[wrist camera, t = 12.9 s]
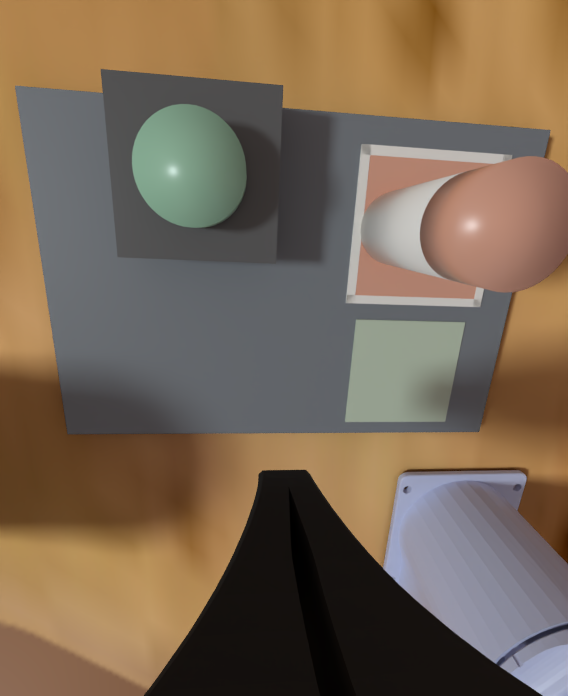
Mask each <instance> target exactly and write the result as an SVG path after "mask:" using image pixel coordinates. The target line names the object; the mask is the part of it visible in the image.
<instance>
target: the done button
mask: <svg viewBox="0 0 568 696" xmlns="http://www.w3.org/2000/svg"><path fill="white" fill-rule="evenodd" d="M132 169H133V175H134V179H135V182H136V185H137V187H138V190H139V191H140V193H141V195H142V197H143V198H144V200H145V201H146V203H147V204H148V205H149V206H150V207H151V209H152V210H154V211H155V212H156V213H157V214H158V215H159V216H161V217H162V218H164V219H165V220H167V221H169V222H171V223H174V224H176V225H179V226H183V227H191V228H205V227H211V226H214V225H217V224H219V223H221V222H223V221H224V220H226V219H227V218H229V217H230V216H231V215H232V214H233V213H234V212H235V211H236V209H237V208H238V206H239V205H240V203H241V201H242V199H243V196H244V193H245V188H246V180H247V175H246V162H245V156H244V152H243V149H242V146H241V144H240V142H239V140H238V138H237V136H236V134H235V133H234V131H233V130H232V129H231V127H230V126H229V125H228V124H227V123H226V122H225V121H224V120H223V119H222V118H220V117H219V116H218V115H217V114H215V113H213V112H212V111H210V110H208V109H206V108H203V107H200V106H197V105H191V104H177V105H171V106H168V107H165V108H163V109H161V110H159V111H157V112H156V113H154V114H153V115H152V116H151V117H150V118H149V119H147V120H146V122H145V123H144V124H143V126H142V127H141V129H140V130H139V132H138V134H137V137H136V139H135V142H134V146H133V152H132Z"/></svg>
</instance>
